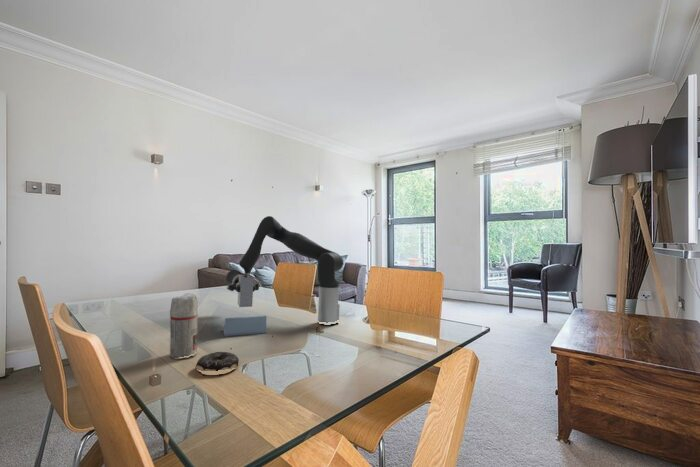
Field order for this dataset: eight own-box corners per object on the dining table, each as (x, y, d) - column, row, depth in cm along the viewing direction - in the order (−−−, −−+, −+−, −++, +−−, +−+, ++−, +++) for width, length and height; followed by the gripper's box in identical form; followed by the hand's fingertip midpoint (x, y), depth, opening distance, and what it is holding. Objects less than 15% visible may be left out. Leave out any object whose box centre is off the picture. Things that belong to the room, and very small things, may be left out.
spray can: (185, 361, 103) (188, 297, 103) (162, 358, 105) (165, 295, 105) (202, 352, 111) (205, 293, 112) (181, 350, 113) (184, 291, 113)
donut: (209, 361, 105) (209, 348, 105) (245, 364, 103) (245, 351, 103) (188, 375, 94) (189, 361, 94) (228, 379, 92) (229, 364, 92)
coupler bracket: (261, 326, 146) (262, 311, 146) (265, 332, 137) (266, 316, 137) (222, 329, 139) (223, 313, 139) (224, 336, 130) (225, 318, 130)
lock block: (249, 303, 143) (251, 272, 144) (252, 306, 137) (253, 274, 137) (237, 303, 141) (239, 272, 141) (239, 307, 135) (241, 274, 135)
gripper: (225, 275, 149) (228, 280, 134) (257, 275, 155) (264, 280, 140) (224, 292, 149) (227, 299, 134) (257, 291, 155) (263, 297, 140)
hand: (246, 289), depth 137 cm, fingers closed on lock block, 5 cm apart
